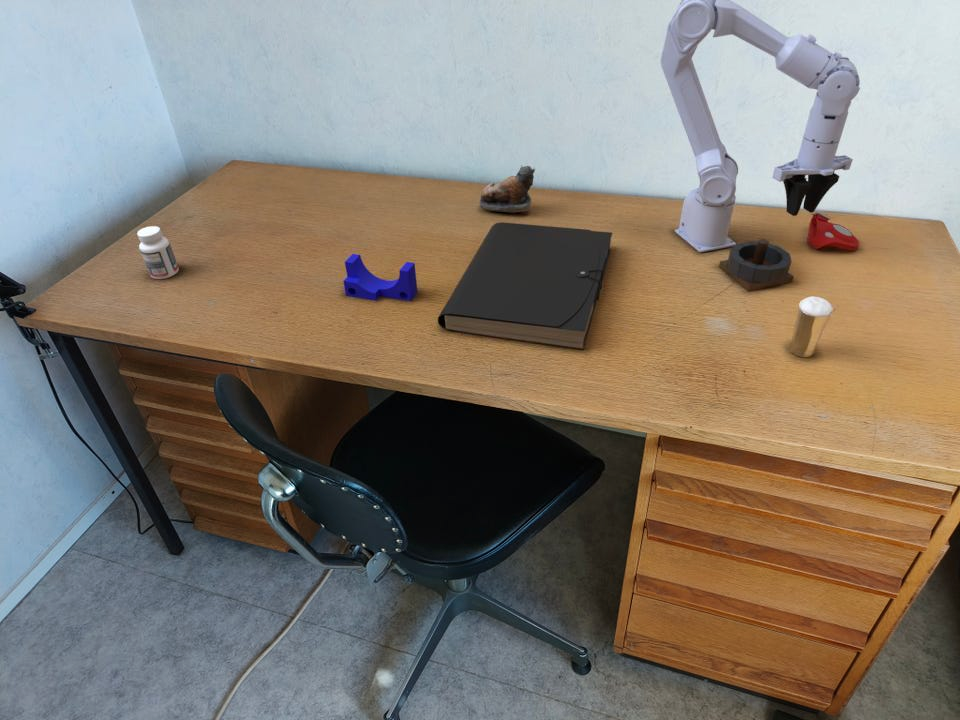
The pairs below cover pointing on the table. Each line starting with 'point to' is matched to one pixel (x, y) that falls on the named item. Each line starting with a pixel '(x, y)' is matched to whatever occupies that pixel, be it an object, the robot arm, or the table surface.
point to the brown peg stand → (757, 260)
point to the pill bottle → (157, 253)
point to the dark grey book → (531, 285)
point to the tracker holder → (829, 233)
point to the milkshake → (810, 325)
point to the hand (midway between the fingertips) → (799, 212)
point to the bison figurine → (509, 193)
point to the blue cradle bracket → (378, 282)
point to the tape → (759, 272)
